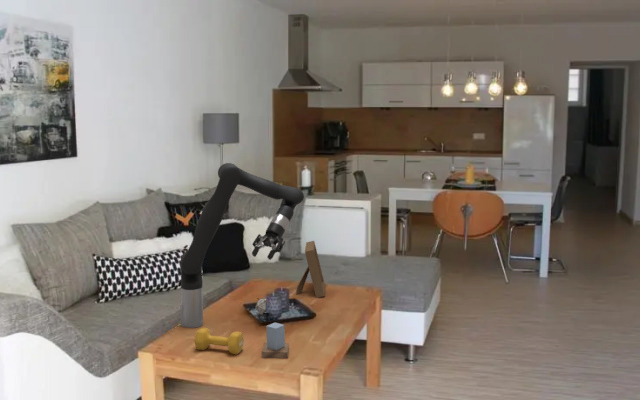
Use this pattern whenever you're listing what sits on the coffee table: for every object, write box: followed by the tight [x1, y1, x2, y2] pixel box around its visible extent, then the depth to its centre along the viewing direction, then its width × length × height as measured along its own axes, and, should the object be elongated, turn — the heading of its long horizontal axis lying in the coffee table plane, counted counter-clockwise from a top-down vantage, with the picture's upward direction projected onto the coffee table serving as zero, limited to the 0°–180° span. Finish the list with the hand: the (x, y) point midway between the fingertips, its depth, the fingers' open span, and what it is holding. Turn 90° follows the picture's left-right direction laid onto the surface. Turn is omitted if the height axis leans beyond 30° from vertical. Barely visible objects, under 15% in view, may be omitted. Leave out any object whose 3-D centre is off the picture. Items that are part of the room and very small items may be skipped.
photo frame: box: [295, 240, 326, 299], centre depth 348 cm, size 15×22×25 cm
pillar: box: [265, 322, 286, 351], centre depth 264 cm, size 5×5×9 cm
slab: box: [261, 342, 290, 359], centre depth 265 cm, size 10×10×3 cm
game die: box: [253, 297, 267, 315], centre depth 311 cm, size 9×8×10 cm
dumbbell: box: [194, 327, 244, 355], centre depth 267 cm, size 19×9×8 cm, turn 74°
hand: (261, 257), depth 286 cm, fingers open, 8 cm apart
